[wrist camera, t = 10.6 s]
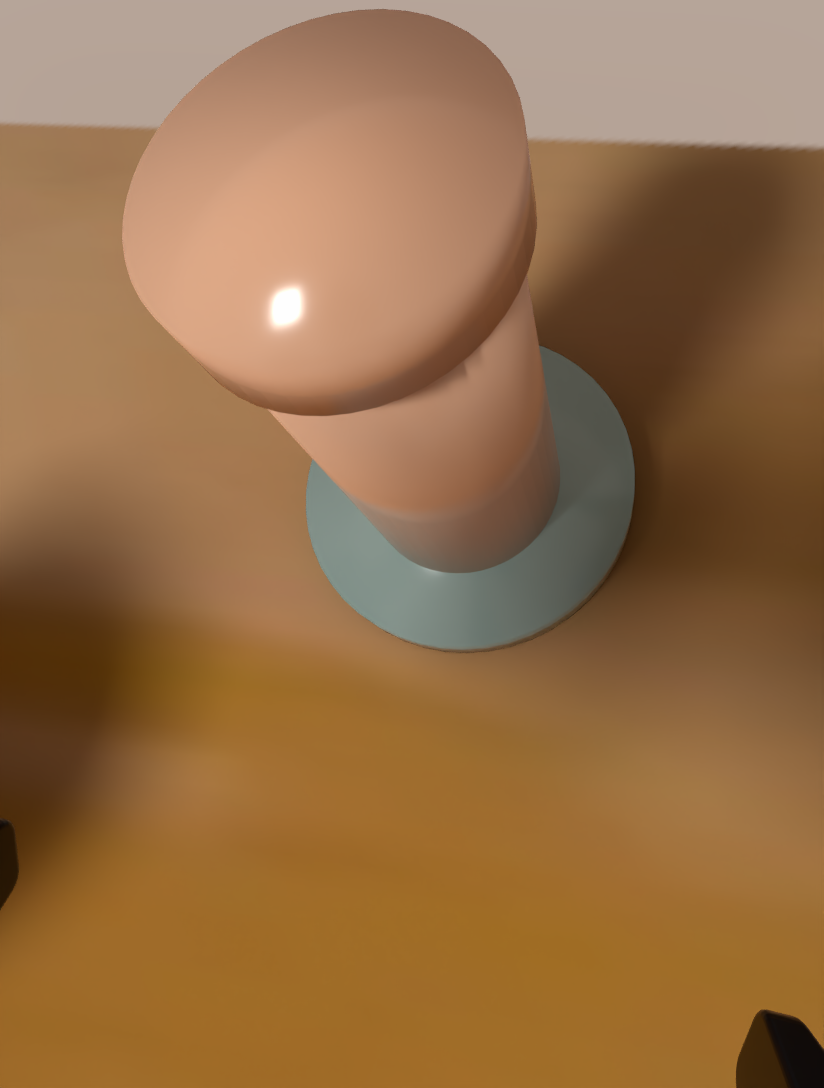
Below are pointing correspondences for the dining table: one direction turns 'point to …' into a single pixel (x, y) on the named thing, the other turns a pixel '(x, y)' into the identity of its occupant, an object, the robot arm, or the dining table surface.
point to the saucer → (521, 582)
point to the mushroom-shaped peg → (364, 270)
